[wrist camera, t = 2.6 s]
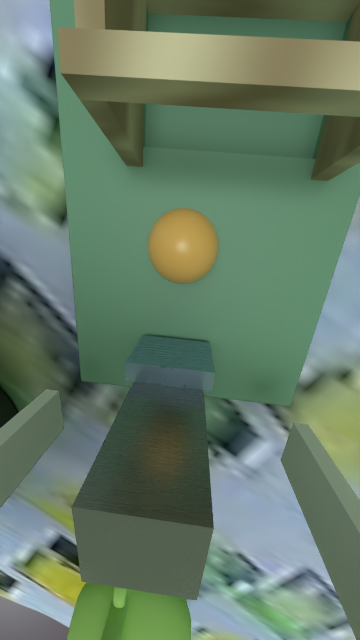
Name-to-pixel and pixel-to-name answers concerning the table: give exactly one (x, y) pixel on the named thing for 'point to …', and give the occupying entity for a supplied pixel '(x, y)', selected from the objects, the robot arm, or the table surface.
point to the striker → (152, 477)
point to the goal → (214, 69)
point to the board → (223, 212)
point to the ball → (183, 245)
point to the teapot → (128, 615)
